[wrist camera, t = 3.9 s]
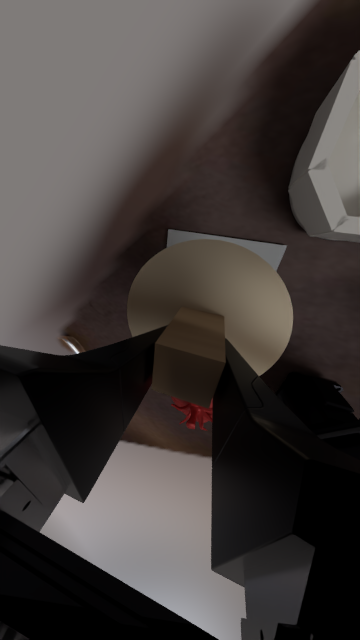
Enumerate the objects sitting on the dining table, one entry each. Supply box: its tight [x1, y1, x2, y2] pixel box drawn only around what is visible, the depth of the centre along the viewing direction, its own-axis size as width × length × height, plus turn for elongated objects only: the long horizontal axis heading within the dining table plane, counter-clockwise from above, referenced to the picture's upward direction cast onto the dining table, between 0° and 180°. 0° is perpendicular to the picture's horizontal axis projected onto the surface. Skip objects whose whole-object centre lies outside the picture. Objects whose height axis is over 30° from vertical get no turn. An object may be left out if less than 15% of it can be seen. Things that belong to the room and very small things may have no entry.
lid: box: [127, 239, 293, 409], centre depth 9 cm, size 11×11×6 cm
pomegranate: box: [171, 396, 213, 431], centre depth 22 cm, size 10×10×9 cm
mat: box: [167, 229, 287, 271], centre depth 19 cm, size 13×13×1 cm
